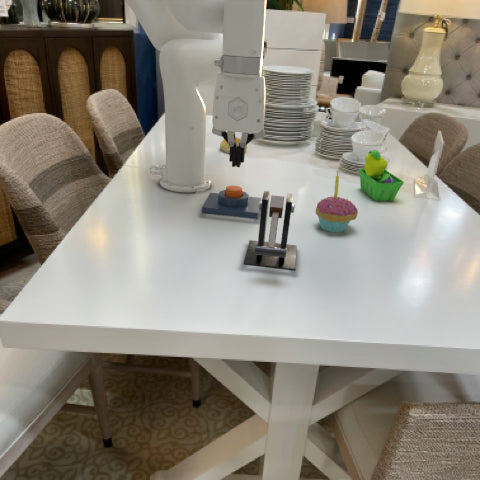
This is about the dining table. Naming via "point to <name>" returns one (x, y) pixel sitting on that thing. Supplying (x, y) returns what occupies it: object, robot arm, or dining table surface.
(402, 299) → the dining table surface
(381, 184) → the fruit basket
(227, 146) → the bread roll
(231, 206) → the button block
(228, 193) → the button
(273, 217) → the lever
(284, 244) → the bracket
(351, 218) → the cupcake
